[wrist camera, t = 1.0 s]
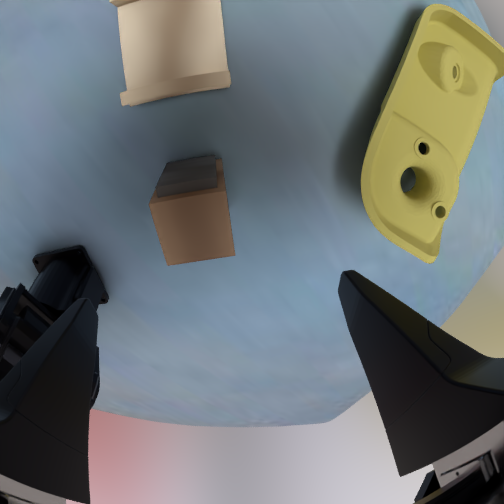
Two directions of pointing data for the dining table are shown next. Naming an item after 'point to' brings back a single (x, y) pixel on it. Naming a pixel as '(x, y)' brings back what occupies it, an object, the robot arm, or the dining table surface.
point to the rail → (171, 48)
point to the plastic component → (428, 128)
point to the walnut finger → (192, 211)
